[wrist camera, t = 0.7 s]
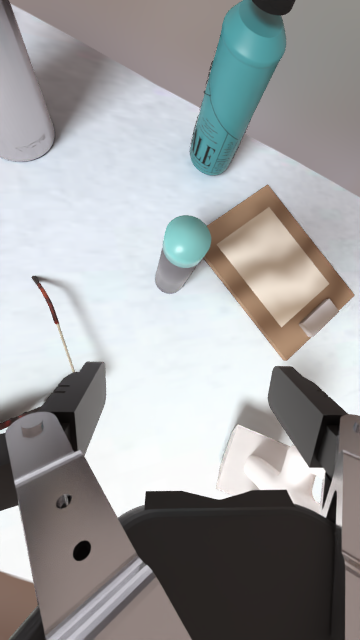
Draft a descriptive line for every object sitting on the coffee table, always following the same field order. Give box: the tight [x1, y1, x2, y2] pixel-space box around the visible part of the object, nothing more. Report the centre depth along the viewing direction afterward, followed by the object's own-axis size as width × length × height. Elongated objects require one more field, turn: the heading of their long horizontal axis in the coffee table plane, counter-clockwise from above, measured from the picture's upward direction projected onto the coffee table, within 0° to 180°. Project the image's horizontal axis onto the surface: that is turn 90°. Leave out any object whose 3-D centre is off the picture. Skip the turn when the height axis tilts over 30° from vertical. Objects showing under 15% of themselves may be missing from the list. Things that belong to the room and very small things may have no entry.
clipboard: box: [203, 185, 354, 361], centre depth 35 cm, size 22×16×2 cm
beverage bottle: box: [190, 0, 295, 175], centre depth 27 cm, size 6×7×20 cm
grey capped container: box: [155, 215, 211, 294], centre depth 27 cm, size 4×4×12 cm
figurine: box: [216, 424, 325, 514], centre depth 24 cm, size 7×9×15 cm
